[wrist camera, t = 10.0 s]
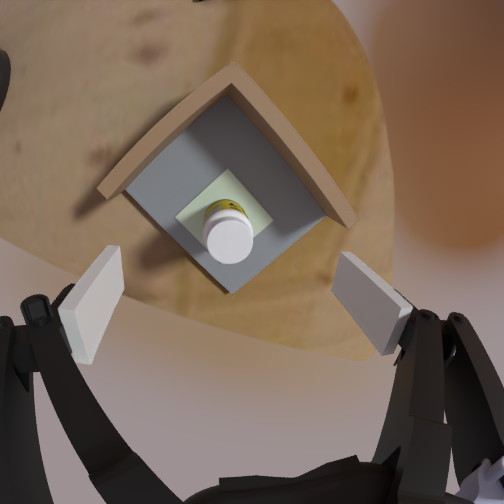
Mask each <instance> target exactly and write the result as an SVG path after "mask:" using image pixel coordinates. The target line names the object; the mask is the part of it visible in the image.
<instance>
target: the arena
mask: <svg viewBox="0 0 504 504" xmlns="http://www.w3.org/2000/svg"><path fill="white" fill-rule="evenodd" d="M97 189H98V190H99V191H100V192H101V193H102V195H103V196H104V197H105V198H106V199H107V200H108V199H110V198H111V197H113V196H115V195H117V194H118V193H120V192H122V191H124V190H126V191H127V192H128V193H129V194H130V195H131V196H132V197H133V198H134V199H135V200H136V201H137V202H138V203H139V204H140V205H141V206H142V207H143V208H144V210H145V211H146V212H147V213H148V214H149V215H150V216H151V217H152V218H153V219H154V220H155V221H156V222H157V223H158V224H159V225H160V226H161V227H162V228H163V229H164V230H165V231H166V232H167V233H168V234H169V235H170V236H171V237H172V238H173V239H174V240H175V241H176V242H178V243H179V244H180V245H181V246H182V247H183V248H184V249H185V250H186V251H187V252H188V253H189V254H190V255H191V256H192V257H193V258H194V259H195V260H196V261H197V262H198V263H199V264H200V265H201V266H202V267H203V268H205V269H206V270H207V271H208V272H209V273H210V274H211V275H212V276H213V277H214V278H215V279H216V280H217V281H218V282H219V283H221V284H222V285H223V286H224V287H225V288H226V289H227V290H228V291H229V292H230V293H231V294H233V293H235V292H236V291H237V290H238V289H240V288H241V287H242V286H243V285H244V284H246V283H247V282H248V281H249V280H250V279H252V278H253V277H254V276H255V275H256V274H258V273H259V272H260V271H261V270H262V269H264V268H265V267H266V266H267V265H268V264H270V263H271V262H272V261H273V260H274V259H276V258H277V257H278V256H279V255H280V254H282V253H283V252H284V251H285V250H286V249H288V248H289V247H290V246H291V245H292V244H293V243H295V242H296V241H297V240H298V239H299V238H300V237H302V236H303V235H304V234H305V233H306V232H308V231H309V230H310V229H311V228H312V227H313V226H315V225H316V224H317V223H318V222H319V221H320V220H322V219H323V218H324V217H325V216H326V215H327V216H328V217H330V218H332V219H333V220H335V221H336V222H338V223H339V224H341V225H342V226H344V227H345V228H347V229H348V230H349V229H350V228H351V227H352V226H353V225H354V224H355V223H357V222H358V221H359V218H358V217H357V215H356V214H355V212H354V210H353V209H352V207H351V206H350V204H349V203H348V201H347V200H346V198H345V197H344V195H343V194H342V192H341V191H340V189H339V188H338V186H337V185H336V184H335V182H334V181H333V179H332V178H331V176H330V175H329V174H328V172H327V171H326V169H325V168H324V167H323V165H322V164H321V163H320V161H319V160H318V158H317V157H316V156H315V154H314V153H313V152H312V150H311V149H310V148H309V146H308V145H307V144H306V143H305V141H304V140H303V139H302V137H301V136H300V135H299V134H298V132H297V131H296V130H295V129H294V127H293V126H292V125H291V124H290V122H289V121H288V120H287V119H286V118H285V116H284V115H283V114H282V113H281V112H280V110H279V109H278V108H277V107H276V106H275V105H274V103H273V102H272V101H271V100H270V99H269V98H268V97H267V95H266V94H265V93H264V92H263V91H262V90H261V89H260V88H259V86H258V85H257V84H256V83H255V82H254V81H253V80H252V79H251V78H250V77H249V76H248V75H247V74H246V72H245V71H244V70H243V69H242V68H241V67H240V66H239V65H238V64H237V63H236V62H235V61H233V62H231V63H230V64H228V65H227V66H226V67H224V68H223V69H221V70H220V71H219V72H217V73H216V74H215V75H213V76H212V77H211V78H209V79H208V80H207V81H205V82H204V83H203V84H202V85H200V86H199V87H198V88H197V89H195V90H194V91H193V92H192V93H191V94H189V95H188V96H187V97H186V98H185V99H183V100H182V101H181V102H180V103H179V104H178V105H176V106H175V107H174V108H173V109H172V110H171V111H170V112H169V113H167V114H166V115H165V116H164V117H163V118H162V119H161V120H160V121H159V122H158V123H157V124H156V125H155V126H154V127H152V128H151V129H150V130H149V131H148V132H147V133H146V134H145V135H144V136H143V137H142V138H141V139H140V140H139V141H138V142H137V143H136V144H135V145H134V146H133V148H132V149H131V150H130V151H129V152H128V153H127V154H126V155H125V156H124V157H123V158H122V159H121V160H120V161H119V163H118V164H117V165H116V166H115V167H114V168H113V169H112V170H111V172H110V173H109V174H108V175H107V176H106V177H105V179H104V180H103V181H102V182H101V183H100V185H99V186H98V187H97ZM220 199H230V200H233V201H235V202H237V203H238V204H239V205H241V207H242V208H243V209H244V211H245V213H246V215H247V217H248V219H249V220H250V222H251V224H252V227H253V246H252V249H251V252H250V253H249V255H248V256H247V257H246V258H245V259H243V260H242V261H240V262H238V263H234V264H224V263H221V262H219V261H217V260H215V259H214V258H213V257H212V256H211V255H210V253H209V251H208V249H207V247H206V245H205V243H204V240H203V223H204V215H205V212H206V210H207V208H208V207H209V206H210V205H211V204H212V203H213V202H215V201H217V200H220Z"/></svg>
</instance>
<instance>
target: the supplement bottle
mask: <svg viewBox="0 0 504 504" xmlns="http://www.w3.org/2000/svg"><path fill="white" fill-rule="evenodd" d="M203 240H204V243H205V245H206V247H207V249H208V251H209V253H210V255H211V256H212V257H213V258H214V259H215V260H217V261H219V262H221V263H224V264H234V263H238V262H240V261H242V260H243V259H245V258H246V257H247V256H248V255H249V253H250V252H251V249H252V246H253V227H252V224H251V222H250V220H249V219H248V217H247V215H246V213H245V211H244V209H243V208H242V207H241V205H239V204H238V203H237V202H235V201H233V200H230V199H220V200H217V201H215V202H213V203H212V204H211V205H210V206H209V207H208V208H207V210H206V212H205V215H204V223H203Z"/></svg>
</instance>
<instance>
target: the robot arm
mask: <svg viewBox="0 0 504 504" xmlns="http://www.w3.org/2000/svg"><path fill="white" fill-rule="evenodd" d="M10 71H11V67H10V60H9V57H8V55H7V53H6V52H5V51H4V50H1V49H0V110H1V108H2V105H3V103H4V100H5V97H6V94H7V90H8V86H9V81H10ZM123 290H124V281H123V273H122V264H121V253H120V246H114V245H108V246H107V247H106V248H105V249H104V250H103V252H102V253H101V254H100V255H99V256H98V257H97V259H96V260H95V261H94V262H93V263H92V265H91V266H90V267H89V268H88V270H87V271H86V272H85V273H84V275H83V276H82V277H81V278H80V280H79V281H78V282H77V283H76V284H70V285H68V286H67V287H65V288H64V289H63V290H62V291H61V293H60V294H59V295H58V297H57V298H56V300H54V302H53V303H52V304H51V305H50V302H49V299H48V297H47V296H45V295H42V294H36V295H32V296H30V297H27V298H26V299H25V300H23V302H22V303H21V307H20V308H21V311H22V314H23V317H24V319H25V323H26V325H20V326H14V324H13V321H12V319H11V318H10V317H8V316H1V317H0V504H54V503H53V500H52V496H51V493H50V490H49V486H48V482H47V478H46V474H45V471H44V466H43V461H42V456H41V452H40V445H39V439H38V433H37V424H36V416H35V404H34V387H33V372H40V373H41V376H42V379H43V382H44V384H45V387H46V390H47V392H48V395H49V397H50V400H51V402H52V404H53V407H54V409H55V411H56V414H57V416H58V418H59V420H60V422H61V424H62V426H63V428H64V430H65V432H66V434H67V436H68V438H69V440H70V442H71V444H72V445H73V447H74V449H75V451H76V453H77V455H78V456H79V458H80V459H81V461H82V463H83V465H84V466H85V468H86V470H87V471H88V473H89V478H90V480H91V482H92V484H93V485H94V487H95V488H96V490H97V491H98V493H99V494H100V495H101V496H102V498H103V499H104V501H105V502H106V503H107V504H504V388H503V385H502V383H501V380H500V378H499V376H498V374H497V372H496V370H495V368H494V366H493V364H492V362H491V360H490V358H489V356H488V354H487V352H486V350H485V348H484V346H483V345H482V343H481V341H480V339H479V337H478V336H477V334H476V332H475V330H474V329H473V327H472V325H471V324H470V322H469V320H468V319H467V318H466V317H464V315H463V314H461V313H456V312H452V313H450V314H449V316H448V319H447V320H440V319H439V317H438V316H437V315H436V314H435V313H433V312H432V311H429V310H425V309H421V310H418V309H417V308H416V307H415V306H414V305H412V304H411V303H410V302H409V301H408V300H406V298H405V297H404V296H402V295H401V294H400V293H399V292H398V291H397V290H395V289H393V288H392V287H391V286H390V285H388V284H387V283H386V282H385V281H384V280H383V279H382V278H381V277H379V276H378V275H377V274H376V273H375V272H374V271H372V270H371V269H370V268H369V267H368V266H367V265H365V264H364V263H363V262H362V261H361V260H359V259H358V258H357V257H356V256H355V255H353V254H352V253H351V252H340V255H339V259H338V264H337V269H336V273H335V277H334V282H333V286H332V290H331V291H332V292H333V293H334V294H335V296H336V297H337V298H338V300H339V301H340V302H341V303H342V305H343V306H344V307H345V308H346V310H347V311H348V312H349V314H350V315H351V316H352V317H353V319H354V320H355V321H356V323H357V324H358V325H359V326H360V328H361V329H362V330H363V332H364V333H365V334H366V336H367V337H368V338H369V340H370V341H371V342H372V344H373V345H374V346H375V348H376V349H377V350H378V351H379V353H380V354H381V355H382V356H383V355H388V354H393V353H394V351H395V349H396V347H397V345H398V344H399V345H400V346H401V348H402V349H401V351H400V353H399V355H398V357H397V359H396V361H395V363H394V366H395V365H396V364H397V368H396V374H395V379H394V384H393V388H392V393H391V398H390V402H389V406H388V410H387V414H386V418H385V422H384V425H383V429H382V432H381V436H380V439H379V442H378V445H377V448H376V452H375V455H374V457H373V459H372V461H371V462H359V460H358V458H357V455H354V456H351V457H347V458H344V459H340V460H336V461H333V462H329V463H326V464H324V465H322V466H320V467H318V468H316V469H314V470H311V471H309V472H307V473H305V474H303V475H300V476H298V477H294V478H285V477H268V476H258V475H255V476H243V477H227V478H219V485H217V486H213V487H210V488H207V489H204V490H202V491H200V492H198V493H195V494H194V495H192V496H191V497H189V498H188V499H186V500H185V501H184V502H182V501H181V500H180V499H179V498H178V497H177V496H176V495H175V494H174V493H173V492H172V491H171V490H170V489H169V488H168V487H167V486H166V485H165V484H164V483H163V482H162V481H161V480H160V479H159V478H158V477H157V476H156V474H155V473H154V472H153V471H152V470H151V469H150V468H149V467H148V466H147V465H146V464H145V462H144V461H143V460H142V459H141V458H140V457H139V456H138V455H137V454H136V453H135V452H133V451H132V450H131V448H130V447H129V446H128V445H127V443H126V442H125V441H124V439H123V438H122V437H121V435H120V434H119V433H118V431H117V430H116V429H115V427H114V426H113V424H112V423H111V421H110V420H109V419H108V417H107V416H106V414H105V413H104V411H103V410H102V408H101V407H100V405H99V403H98V402H97V400H96V399H95V397H94V395H93V394H92V392H91V390H90V389H89V387H88V386H87V384H86V382H85V380H84V378H83V377H82V375H81V373H80V371H79V369H78V367H77V365H76V364H75V362H77V363H82V364H88V365H91V364H92V361H93V358H94V356H95V353H96V351H97V349H98V346H99V344H100V341H101V339H102V337H103V334H104V332H105V330H106V327H107V325H108V323H109V320H110V318H111V316H112V314H113V312H114V309H115V307H116V305H117V303H118V301H119V299H120V297H121V295H122V293H123ZM455 351H456V352H455ZM454 352H455V355H454V356H453V354H454ZM71 353H72V354H73V357H74V359H75V362H74V360H73V358H72V356H71ZM444 410H445V415H446V420H447V424H445V423H444V422H443V421H444ZM451 447H452V454H453V461H454V468H455V474H456V477H457V481H458V484H459V487H460V491H458V492H457V493H456V494H455V495H452V494H449V493H447V492H445V490H446V485H447V478H448V472H449V463H450V454H451Z"/></svg>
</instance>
